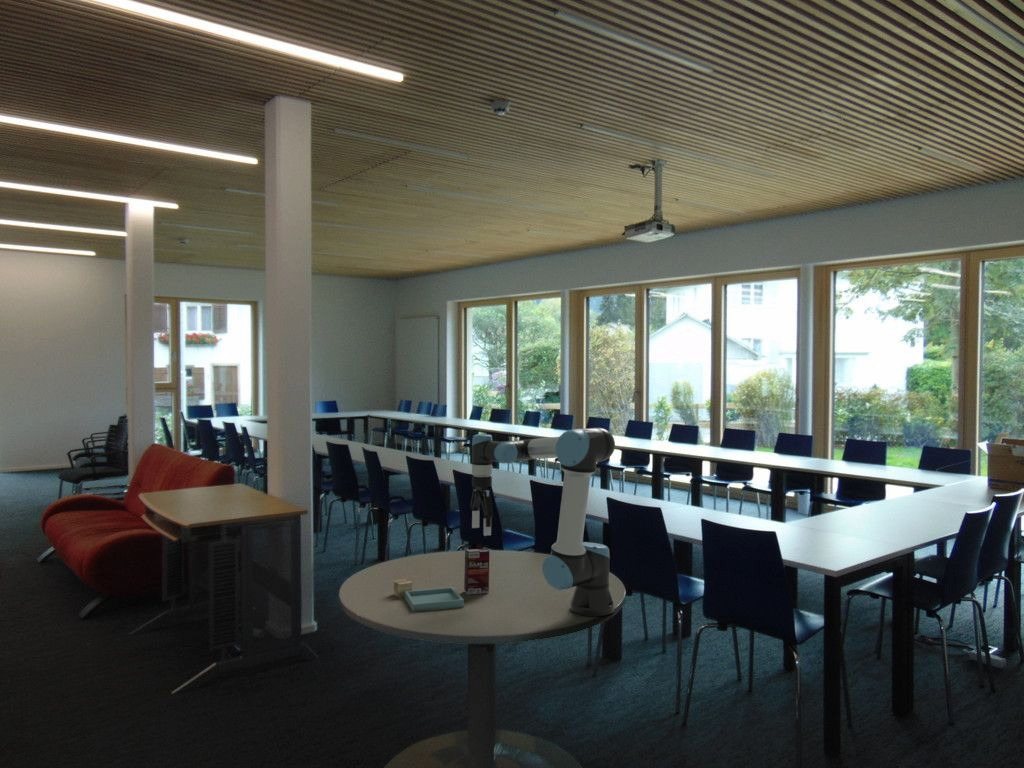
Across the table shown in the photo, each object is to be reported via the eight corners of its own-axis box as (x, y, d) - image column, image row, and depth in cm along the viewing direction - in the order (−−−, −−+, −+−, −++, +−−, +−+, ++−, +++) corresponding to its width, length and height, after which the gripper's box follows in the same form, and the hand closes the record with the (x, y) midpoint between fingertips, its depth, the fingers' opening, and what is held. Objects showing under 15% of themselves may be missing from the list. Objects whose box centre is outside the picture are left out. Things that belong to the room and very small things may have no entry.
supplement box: (467, 595, 277) (467, 552, 276) (463, 591, 281) (464, 549, 281) (489, 593, 279) (489, 551, 279) (486, 589, 284) (486, 547, 283)
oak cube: (411, 595, 276) (411, 582, 275) (399, 598, 273) (399, 584, 273) (405, 592, 280) (405, 579, 280) (393, 594, 277) (393, 581, 277)
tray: (463, 606, 263) (463, 599, 263) (413, 611, 257) (413, 604, 257) (452, 593, 278) (452, 586, 278) (404, 598, 272) (404, 591, 272)
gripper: (502, 479, 272) (502, 537, 272) (480, 470, 295) (480, 524, 296) (483, 480, 269) (482, 539, 270) (462, 471, 292) (462, 525, 293)
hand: (481, 531), depth 283 cm, fingers open, 13 cm apart
